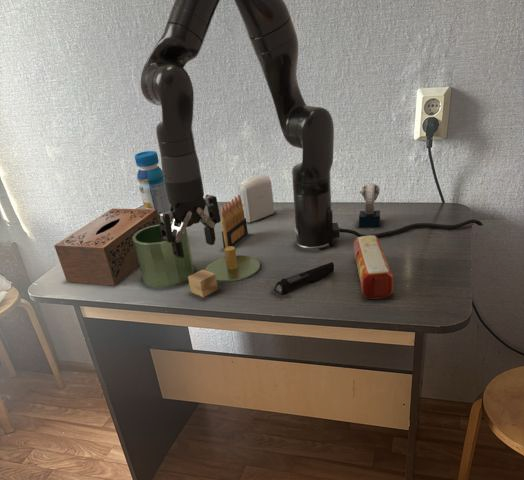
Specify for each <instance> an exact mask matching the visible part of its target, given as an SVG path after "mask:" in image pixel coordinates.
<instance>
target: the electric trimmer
mask: <svg viewBox="0 0 524 480" xmlns="http://www.w3.org/2000/svg"><path fill="white" fill-rule="evenodd" d="M334 272H335V263H334V261H330V262H327V263H325V264H322V265H320V266H317V267H314V268H311V269H309V270H305V271H303V272H301V273H298V274H294V275H292V276H289V277H287V278H282V279H281V280H279V281H277V282H276V284H275V285H274V292H276V293H278V294H279V295H280V296H284V295H287V294H288V293H289V292H291V291H293V290H295V289H298V288H301V287H303V286H306V285H307V284H315V283H317V282H318V281H320V280H322V279H324V278H326V277H327V276H329V275H331V274H333V273H334Z"/></svg>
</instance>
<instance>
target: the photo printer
mask: <svg viewBox="0 0 524 480" xmlns="http://www.w3.org/2000/svg"><path fill="white" fill-rule="evenodd" d="M238 189H239V195H240V197H241V201H242V206H243V210H244V217H245V218H246V223H252V222H256V221H258V220H260V219H263V218H266V217H269V216H271V215H273V214H275V208H274V207H275V205H274V196H273V195H274V194H273V185H272V180H271V178H270V176H269V175H266V174H254V175H251V176H249V177H248V178H245V179H244V180H243V181H241V182H240V183H239V185H238Z"/></svg>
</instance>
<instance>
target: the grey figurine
mask: <svg viewBox="0 0 524 480" xmlns="http://www.w3.org/2000/svg"><path fill="white" fill-rule="evenodd" d="M360 189H361V190H359V194H361V196H362V198H363V200H364V201H365V203H364V210H360V211H359V214H358V228H359V229H360V228H361V229H362V228H364V229H365V228H367V229H369V228H380V227H381V210H375V203H376V202H375V201H377V199H378V196H379V195H380V189H381V188H380V185H378V184H377V183H373V182H372V183H371V182H370V183H365V184H363V186H362V187H361V188H360Z"/></svg>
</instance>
